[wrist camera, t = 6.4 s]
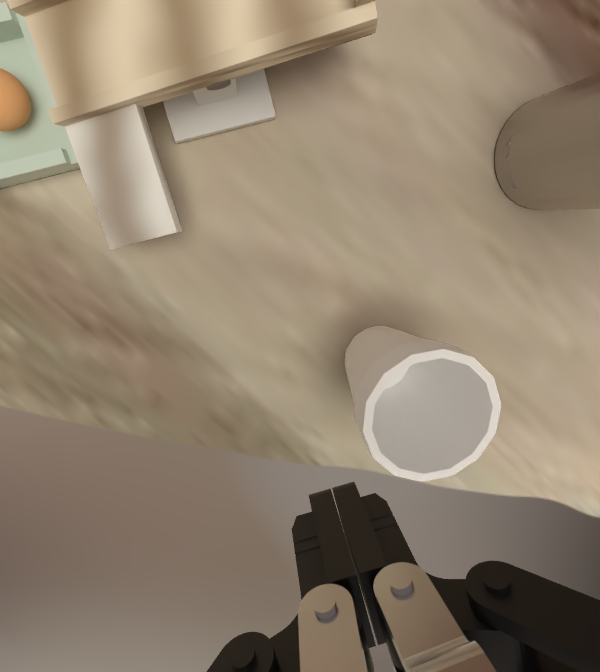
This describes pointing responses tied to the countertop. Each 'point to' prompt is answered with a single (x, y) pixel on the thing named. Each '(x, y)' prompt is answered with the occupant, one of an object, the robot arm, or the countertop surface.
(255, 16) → the board
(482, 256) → the countertop surface
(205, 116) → the lever stand
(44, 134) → the bin
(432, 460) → the foam cup
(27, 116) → the ball
